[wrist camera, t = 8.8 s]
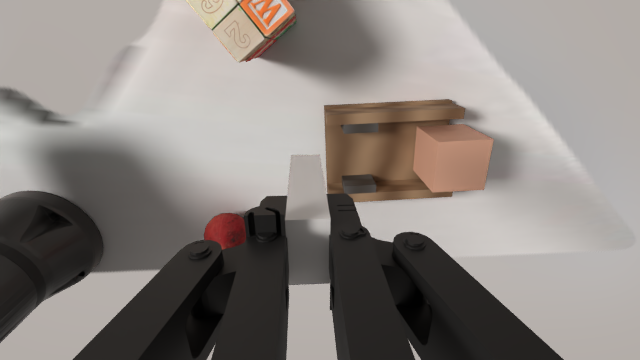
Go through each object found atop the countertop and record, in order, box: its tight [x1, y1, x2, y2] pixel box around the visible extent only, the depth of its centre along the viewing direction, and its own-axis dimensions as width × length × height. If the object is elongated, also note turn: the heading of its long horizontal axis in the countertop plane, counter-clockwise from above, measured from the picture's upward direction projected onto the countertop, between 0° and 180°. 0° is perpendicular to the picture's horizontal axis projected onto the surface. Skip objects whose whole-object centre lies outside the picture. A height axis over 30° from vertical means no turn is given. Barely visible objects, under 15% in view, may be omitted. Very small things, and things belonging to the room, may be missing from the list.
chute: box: [324, 99, 465, 202], centre depth 40 cm, size 16×12×4 cm
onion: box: [204, 213, 246, 250], centre depth 41 cm, size 6×6×8 cm
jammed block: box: [413, 124, 494, 192], centre depth 37 cm, size 6×6×7 cm
